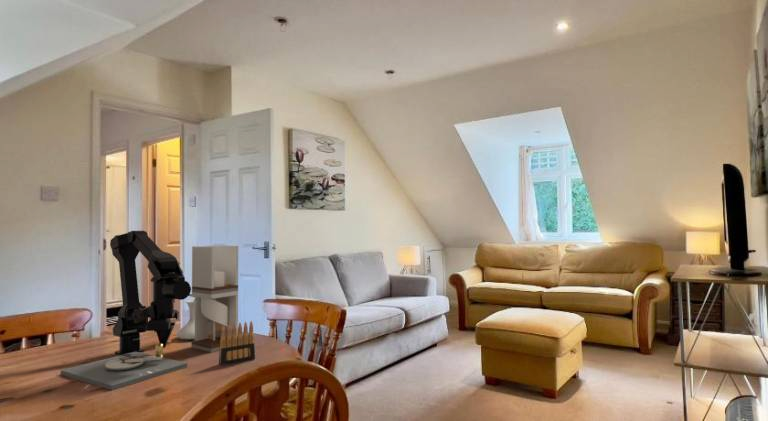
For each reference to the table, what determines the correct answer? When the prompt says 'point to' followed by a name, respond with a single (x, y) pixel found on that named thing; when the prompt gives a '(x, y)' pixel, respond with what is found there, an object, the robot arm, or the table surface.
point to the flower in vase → (189, 328)
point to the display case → (214, 293)
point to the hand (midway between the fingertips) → (163, 347)
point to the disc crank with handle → (133, 360)
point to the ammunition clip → (236, 345)
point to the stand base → (121, 372)
